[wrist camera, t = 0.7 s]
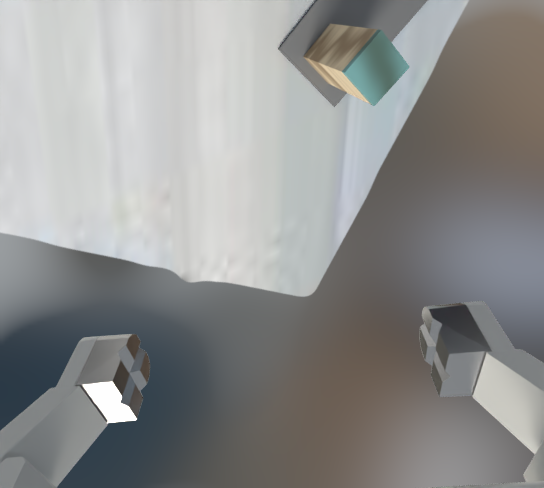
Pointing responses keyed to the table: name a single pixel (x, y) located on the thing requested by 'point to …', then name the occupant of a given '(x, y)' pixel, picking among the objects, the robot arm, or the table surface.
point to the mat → (351, 12)
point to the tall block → (357, 61)
